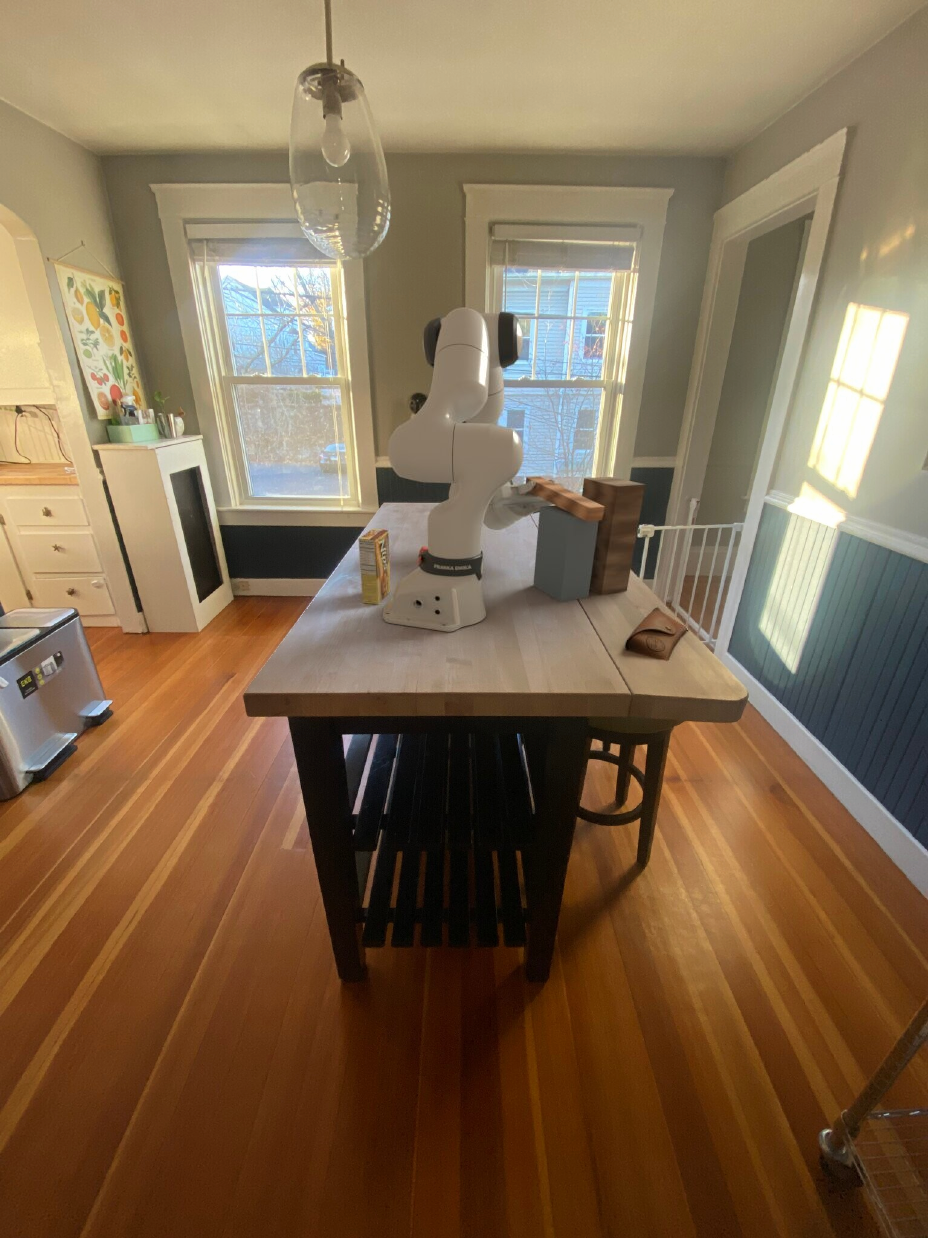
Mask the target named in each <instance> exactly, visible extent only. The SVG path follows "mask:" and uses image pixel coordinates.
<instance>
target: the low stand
mask: <svg viewBox="0 0 928 1238" xmlns="http://www.w3.org/2000/svg"><path fill="white" fill-rule="evenodd" d="M538 513H539V515H538V516H539V517H538V524H537V540H536V548H535V550H536V551H535V563H534V572H533V574H534V575H533V586H534V587H535V588H537V589H539V590H540V591H542V592H544V593H545V594H547V595H548V596H550V597H551V598H553V599H555V600H556V601H558V602H559V603H563V602H570V601H571V602H572V601H575V600H581V599H587V598H589V596H590V595H589V594H590V589H589V588H590V581H591V573H592V566H593V559H594V551H595V544H596V537H597V529H598V522H599V521H589V522H587V521H585V520H583V519H581V518H579V517H577V516H575V515H573V514H571V513H569V512H568V511H566V510H564V509H562V508H560V507H558V506H556V505H554V504H553V505H550V506H542V507H540V512H538Z"/></svg>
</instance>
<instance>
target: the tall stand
mask: <svg viewBox="0 0 928 1238" xmlns="http://www.w3.org/2000/svg"><path fill="white" fill-rule="evenodd" d="M582 485H583V486H582V492H581V496H583V497H585V498H587V499H589V500H592V501H594V502H596V503H598V504H600V505H602V506H605V508H604V513H603V518H602V520H599V522H598V529H597V537H596V544H595V551H594V559H593V566H592V573H591V581H590V588H589V590H591V591H593V592H595V593H597V594H599V595H601V596H605V595H608V594H609V595H610V594H615V593H621V592H627V591H628V588H629V587H628V586H629V583H630V582H629V581H630V575H631V570H632V563H633V559H634V552H635V547H636V541H637V536H638V535H637V534H638V528H639V523H640V518H641V517H640V516H641V511H642V506H643V500H644V499H643V498H644V495H645V494H644V493H645V488H646V484H645V483H640V482H635V481H631V480H626V479H624V478H623V479H622V478H617V477H612V476H602V477H584V478H583V484H582Z"/></svg>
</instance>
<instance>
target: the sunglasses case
mask: <svg viewBox="0 0 928 1238" xmlns="http://www.w3.org/2000/svg"><path fill="white" fill-rule="evenodd" d="M686 627H687V626H685V625H684V624H682V623H680V622H679V621H677V620H676V619H674V618H673V617H671V616H669V614H666V613H664V612H663V611H662V609H661V608H659V606H658V607H655V608H653V609H652V610H651V612H650V613H649V614H648V615H647V616H646V617H644V618H643V620H642V621H641V622H640V623H639V624H638V625H637V627H636V628H635V629H634V630H633V631H632V633H631V634H630V635H629V636H628V638H627V639H626V641H625V643H624V648H625V649H626V651H627V652H631V653H634V654H639V655H643V656H645V657H646V656H647V657H651V658H655V659H656V660H661V661H662V660H663V661H666V662H668V661H669V660H670V657H671V654H672V652H673V650H674V648H675V647H676V645H677V644H678V642H679V641H680V639H681V638H682V637H683V636H684V635H685V633H687V632H688V631H689V630H690V628H688V627H687V628H688V629H689V630H687V628H686ZM686 631H687V632H686Z"/></svg>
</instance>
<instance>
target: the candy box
mask: <svg viewBox="0 0 928 1238" xmlns="http://www.w3.org/2000/svg"><path fill="white" fill-rule="evenodd" d="M358 551H359V563H360V564H359V567H360V580H361V582H360V583H361V595H362V596H361V599H362V604H368V605H369V604H370V605H379V604H380V603H381V602H382V601H383V600H384V599H385V598H386V597H387V595H389V593H390V592H391V571H390V569H391V568H390V542H389V530H388V529H381V528H380V529H379V528H371V530H369V531H367V532H366V533H365V534H363V535H362V536H361V537H359V538H358Z"/></svg>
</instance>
